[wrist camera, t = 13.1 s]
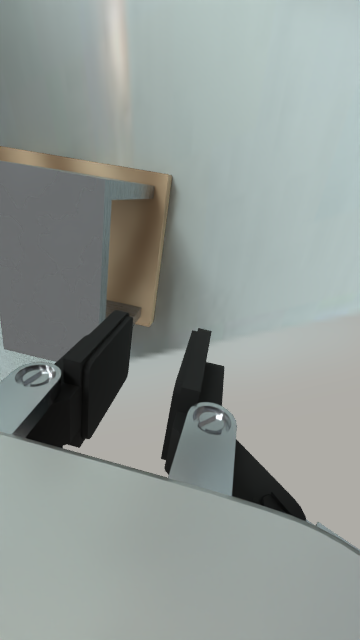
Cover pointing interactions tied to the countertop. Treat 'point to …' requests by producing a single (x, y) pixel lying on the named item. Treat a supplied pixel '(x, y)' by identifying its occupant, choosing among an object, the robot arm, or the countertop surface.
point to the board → (122, 228)
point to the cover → (56, 256)
